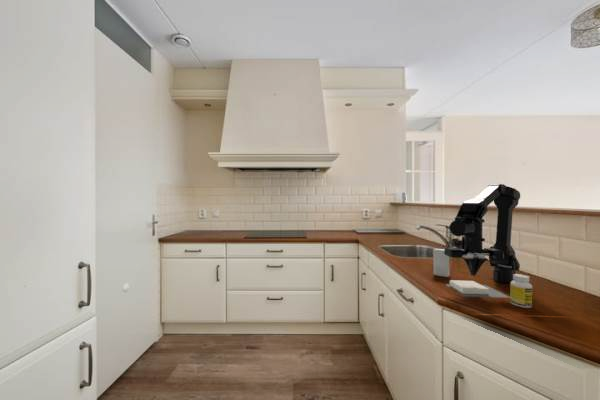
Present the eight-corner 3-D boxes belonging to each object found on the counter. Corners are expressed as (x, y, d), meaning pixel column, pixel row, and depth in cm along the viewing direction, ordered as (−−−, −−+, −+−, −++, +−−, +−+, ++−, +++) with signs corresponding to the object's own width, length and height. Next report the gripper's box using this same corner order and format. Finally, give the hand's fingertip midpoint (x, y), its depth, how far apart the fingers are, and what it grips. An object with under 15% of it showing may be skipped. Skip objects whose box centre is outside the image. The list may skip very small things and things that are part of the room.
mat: (486, 286, 101) (486, 285, 101) (511, 298, 88) (511, 297, 88) (445, 285, 102) (445, 284, 102) (463, 297, 89) (463, 296, 89)
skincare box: (449, 275, 115) (449, 249, 115) (448, 278, 111) (448, 250, 111) (434, 273, 119) (434, 247, 119) (432, 275, 115) (432, 249, 115)
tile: (473, 280, 99) (449, 280, 100) (488, 288, 90) (462, 288, 91) (473, 286, 99) (449, 285, 100) (488, 295, 90) (462, 294, 91)
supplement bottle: (527, 310, 79) (527, 279, 79) (506, 303, 84) (507, 274, 84) (535, 306, 81) (535, 276, 81) (514, 300, 86) (514, 272, 86)
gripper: (484, 232, 102) (484, 270, 102) (437, 231, 104) (437, 269, 104) (505, 236, 91) (504, 278, 91) (452, 235, 93) (451, 277, 92)
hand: (473, 275), depth 95 cm, fingers closed
